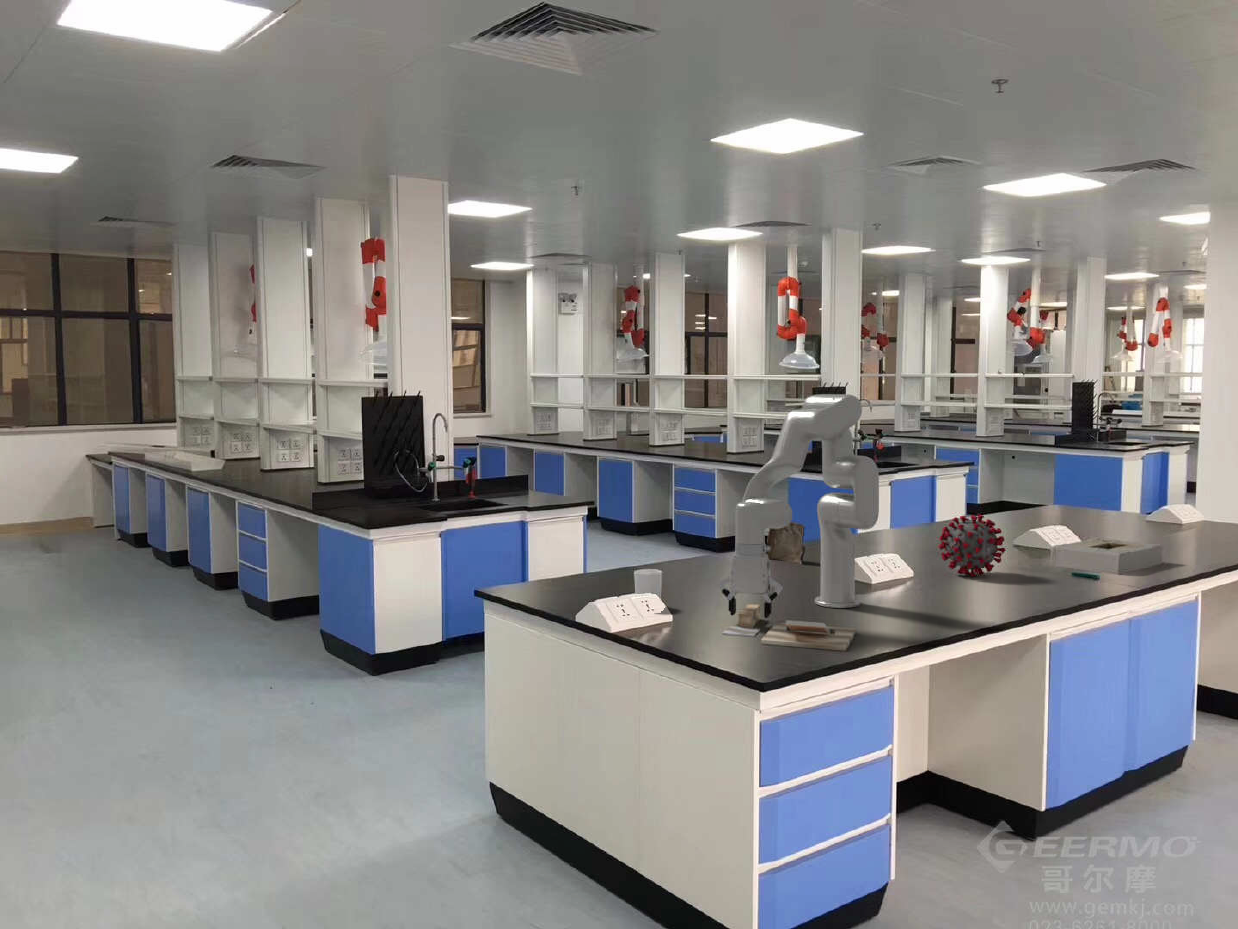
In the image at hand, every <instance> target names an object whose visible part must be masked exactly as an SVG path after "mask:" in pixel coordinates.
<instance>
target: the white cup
mask: <svg viewBox="0 0 1238 929" xmlns="http://www.w3.org/2000/svg"><path fill="white" fill-rule="evenodd" d="M633 576H634V591H635V594H641V593H651V594H656V595H657V596H658V597H659V598H660V600H661V598H662V587H663V586H662V584H663V583H662V582H663V580H662V579H663V571H662V570H660V569H653V568H644V569H643V568H642V569H637V570H634V572H633Z"/></svg>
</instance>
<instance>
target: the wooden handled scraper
mask: <svg viewBox="0 0 1238 929" xmlns="http://www.w3.org/2000/svg"><path fill="white" fill-rule="evenodd" d="M760 620H761V604H758V603H757V604H755V603H748V604H747V605H746V606H745V607H744V608H743V609H742V610H741V611H740V612H739V613H738V626H728V627H727V628H726V629H725V630H723V631H722V636H723V635H724V636H734V637H736V636H737V637H749V638H755V636H757V634H758V633H759V632H760V631H761V628H756V627H755V625H756V624H757V623H758V622H759V621H760ZM754 627H755V628H754Z"/></svg>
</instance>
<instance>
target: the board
mask: <svg viewBox="0 0 1238 929" xmlns="http://www.w3.org/2000/svg"><path fill="white" fill-rule="evenodd" d="M827 627H828V628H829V633H817V632H804V631H792V630H791V629H790V628H789V627H788V626H786V622H785V623H782V622H775V623H774V625H773V626H772V627H771V628H770V629H769V630H768V631H767V632H766V633H765V635H763V637H762V638H761V639H760V644H761V645H770V646H771V645H772V646H782V647H795V648H805V649H806V648H807V649H817V650H818V649H819V650H831V651H843V652H846V651H847V649H848V648H849V646H850V645H851V641H852V640H853V638H854V636H855V634H857V633H856V630H857V629H856V628H851V627H849V628H848V627H834V626H827Z"/></svg>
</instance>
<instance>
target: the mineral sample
mask: <svg viewBox="0 0 1238 929" xmlns="http://www.w3.org/2000/svg"><path fill="white" fill-rule="evenodd" d="M805 528H806V527H805V524H801V523H798V522H793V521H792V520H791V521H790V523H789V524H788V525H787V526H785V527H783V528H778V529H775V528H768V529H769V531H768V532H767V539H766V542H767V546H770V551H767V552H765V554H767V555H768V559H769V560H770V559H771V560H779V561H785V562H791V563H798V564H799V565H802V563H803V561H804V556H805V553H806V546H804V537H805Z"/></svg>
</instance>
